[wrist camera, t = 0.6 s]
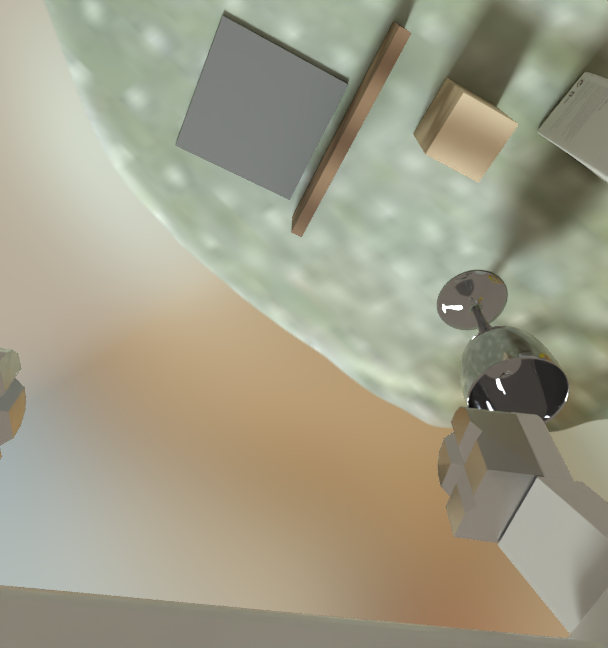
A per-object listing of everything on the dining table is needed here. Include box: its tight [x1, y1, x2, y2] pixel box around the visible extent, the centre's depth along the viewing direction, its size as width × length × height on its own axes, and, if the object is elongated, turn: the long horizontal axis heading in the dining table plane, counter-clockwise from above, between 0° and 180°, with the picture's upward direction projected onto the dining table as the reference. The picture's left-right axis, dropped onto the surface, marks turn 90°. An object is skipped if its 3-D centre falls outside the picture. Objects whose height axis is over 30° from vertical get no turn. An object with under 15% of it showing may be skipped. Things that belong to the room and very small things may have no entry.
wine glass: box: [437, 271, 569, 423], centre depth 50 cm, size 8×8×15 cm
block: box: [414, 78, 519, 183], centre depth 44 cm, size 5×5×6 cm
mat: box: [176, 16, 348, 200], centre depth 46 cm, size 11×11×1 cm
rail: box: [291, 22, 411, 237], centre depth 46 cm, size 18×1×4 cm, turn 153°
